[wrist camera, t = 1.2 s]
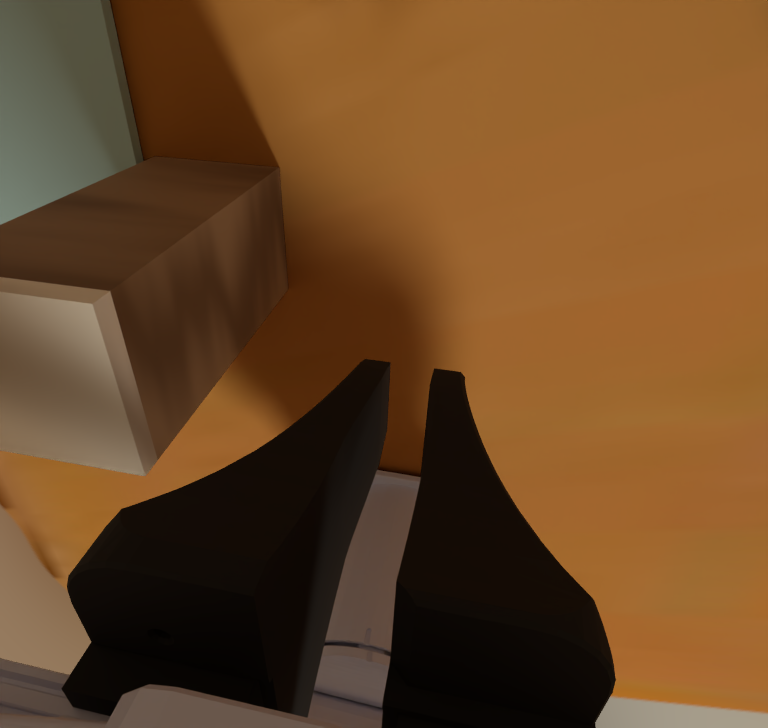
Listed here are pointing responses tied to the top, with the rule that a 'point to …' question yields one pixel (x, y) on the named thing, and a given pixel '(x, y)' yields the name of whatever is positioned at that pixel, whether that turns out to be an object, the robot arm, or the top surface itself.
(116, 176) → the walnut block
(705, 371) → the top surface
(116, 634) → the robot arm
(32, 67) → the mat
